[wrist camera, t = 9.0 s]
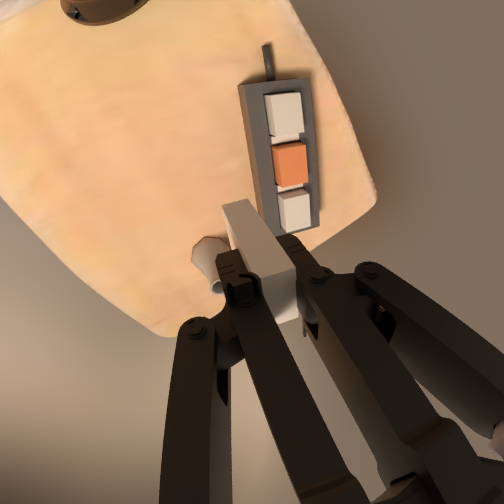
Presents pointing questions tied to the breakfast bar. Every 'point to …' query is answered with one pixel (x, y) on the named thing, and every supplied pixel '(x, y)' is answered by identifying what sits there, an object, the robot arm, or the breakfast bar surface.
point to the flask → (209, 260)
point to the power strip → (262, 140)
